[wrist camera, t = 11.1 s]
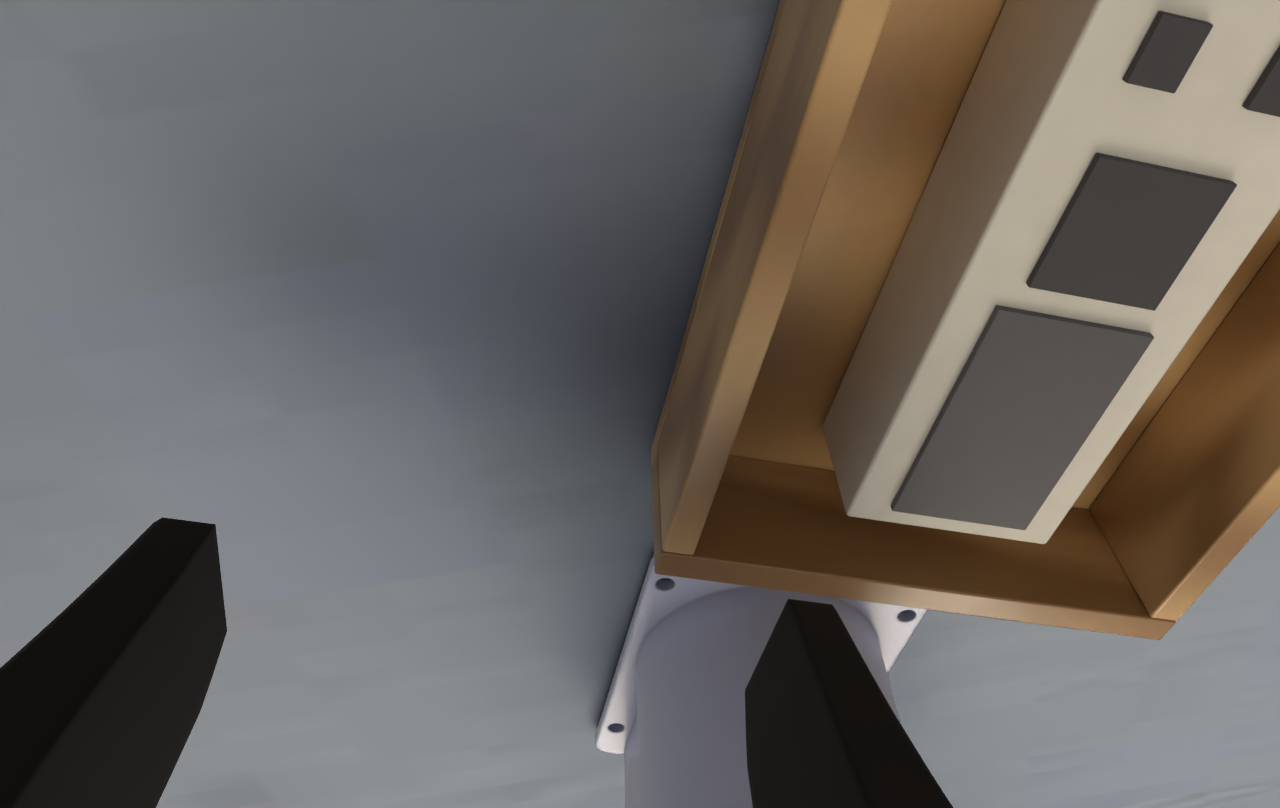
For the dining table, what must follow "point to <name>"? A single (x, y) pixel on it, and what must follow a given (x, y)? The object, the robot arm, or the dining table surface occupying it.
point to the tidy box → (835, 320)
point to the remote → (1059, 257)
